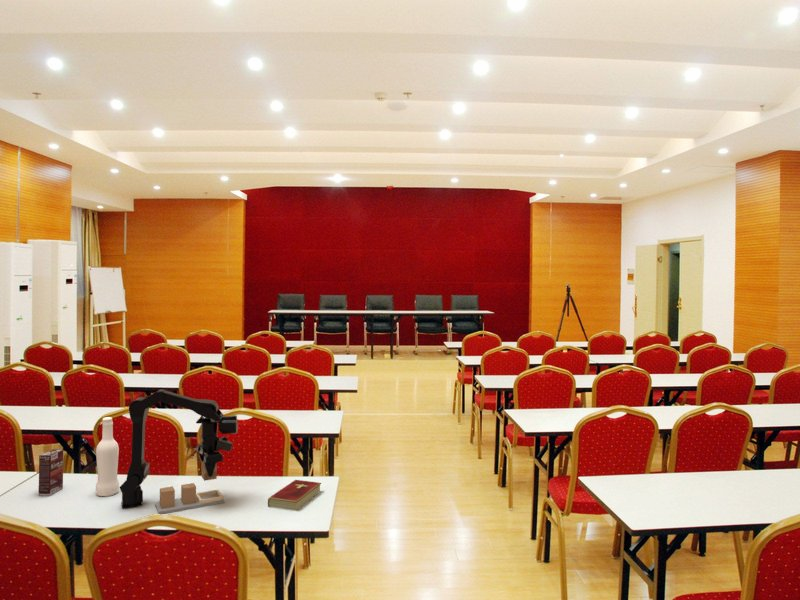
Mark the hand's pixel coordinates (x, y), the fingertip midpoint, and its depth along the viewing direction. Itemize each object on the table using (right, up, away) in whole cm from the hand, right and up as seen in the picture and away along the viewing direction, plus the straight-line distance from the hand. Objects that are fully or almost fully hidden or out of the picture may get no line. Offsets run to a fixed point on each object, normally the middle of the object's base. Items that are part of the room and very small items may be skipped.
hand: (209, 474), depth 213 cm
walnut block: (0, -1, 0) cm, 1 cm away
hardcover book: (+32, -11, +3) cm, 34 cm away
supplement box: (-65, -9, +7) cm, 66 cm away
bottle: (-42, -10, +6) cm, 44 cm away
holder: (-6, -10, -3) cm, 12 cm away
